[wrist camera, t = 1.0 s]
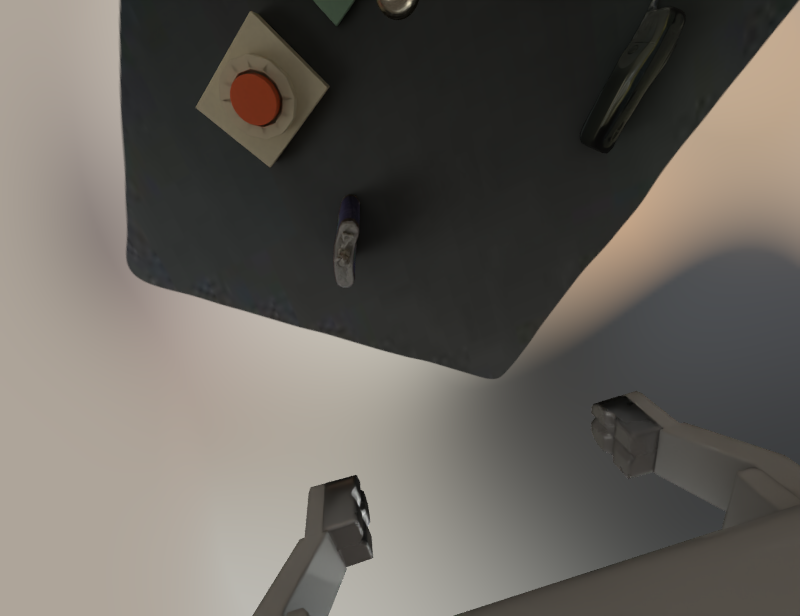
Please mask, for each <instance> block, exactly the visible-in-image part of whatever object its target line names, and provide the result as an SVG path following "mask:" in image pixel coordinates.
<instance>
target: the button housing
mask: <svg viewBox="0 0 800 616" xmlns="http://www.w3.org/2000/svg"><path fill="white" fill-rule="evenodd" d="M249 73H256V74H260V75H262V76H264V77H266V78H267V79H269V80H270V81H271V82H272V83H273V85H274V86H275V88H276V89H277V91H278V94H279V98H280V109H279V112H278V114H277V116H276V117H275V118H274V119H273V120H272V121H270V122H269V123H267V124H265V125H252V124H249V123H247V122H246V121H244V120H243V119H242V118H240V117H239V115H238V114H237V113H236V112H235V110H234V108H233V106H232V103H231V99H230V89H231V85H232V83H233V81H234V80H235V79H236V78H237V77H239V76H240V75H243V74H249ZM329 87H330V86H329V85H328V84H327V83H326V82H325V81H324V80H323V79H322V78H321V77H320V76H319V75H318V74H317V73H316V72H315V71H314V70H313V69H312V68H311V67H310V66H309V65H308V64H307V63H306V62H305V61H304V60H303V59H302V58H301V57H300V56H299V55H298V54H297V53H296V52H295V51H294V50H293V49H292V48H291V47H290V46H289V45H288V44H287V42H286V41H285V40H284V39H283V38H282V37H281V36H280V35H279V34H278V33H277V32H276V31H275V30H274V29H273V28H272V27H271V26H270V25H269V24H268V23H267V22H266V21H265V20H264V19H263V18H262V17H261V16H260V15H259V14H257V13H255V12H252V11H250V12H249V14H248V16H247V18H246V19H245V21H244V23H243V25H242V27H241V28H240V30H239V32H238V34H237V35H236V37H235V39H234V41H233V42H232V44H231V46H230V48H229V49H228V51H227V53H226V55H225V56H224V58H223V60H222V62H221V64H220V65H219V67H218V69H217V71H216V72H215V74H214V76H213V78H212V79H211V81H210V83H209V85H208V86H207V88H206V90H205V92H204V93H203V95H202V97H201V99H200V101H199V102H198V104H197V106H196V108H197V109H198V110H199V111H201V112H202V113H203V114H204V115H206V116H207V117H208V118H209V119H210V120H212V121H213V122H214V123H215V124H217V125H218V126H219V127H220V128H222V129H223V130H224V131H225V132H227V133H228V134H229V135H230V136H232V137H233V138H234V139H235V140H237V141H238V142H239V143H240V144H242V145H243V146H244V147H245V148H247V149H248V150H249V151H250V152H251V153H253V154H254V155H255V156H256V157H258V158H259V159H260V160H261V161H263V162H264V163H265V164H266V165H268V166H269V167H271V166H272V165H273V164H274V163H275V162H276V161H277V159H278V158H279V156H280V155H281V154H282V152H283V151H284V150H285V148H286V147H287V145H288V144H289V143H290V141H291V140H292V138H293V137H294V136H295V134H296V133H297V131H298V130H299V129H300V127H301V126H302V125H303V123H304V122H305V120H306V119H307V118H308V116H309V115H310V113H311V112H312V111H313V109H314V108H315V106H316V105H317V104H318V102H319V101H320V100H321V98H322V97H323V95H324V94H325V93H326V91H327V90H328V88H329Z"/></svg>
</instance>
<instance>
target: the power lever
mask: <svg viewBox="0 0 800 616" xmlns="http://www.w3.org/2000/svg"><path fill="white" fill-rule="evenodd" d="M376 2H377V5H378V7H379V9H380V10H381V11H382V13H383V14H384V15H385V16H387V17H388V18H390V19H393V20H402V19H405V18H407V17H408V16H410V15H411V14H412V13H413V11H414V10H415V9H416V7H417V5H418V2H419V0H376Z"/></svg>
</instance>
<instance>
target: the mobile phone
mask: <svg viewBox="0 0 800 616" xmlns="http://www.w3.org/2000/svg"><path fill="white" fill-rule="evenodd" d="M658 2H659V0H652V2H651V4H650V6H649V8H648V10H647V12H646V14H645V16H644V18H643V20H642V22H641V24H640V26H639V28H638V30H637V32H636V33H635V35H634V37H633V39H632V40H631V42H630V44H629V46H628V47H627V48H626V50H625V51H624V52H623V54H622V55H621V57H620V59H619V61H618V63H617V64H616V66H615V68H614V70H613V72H612V74H611V76H610V78H609V80H608V81H607V83H606V85H605V86H604V88H603V90H602V91H601V93H600V95H599V97H598V99H597V101H596V103H595V105H594V107H593V108H592V110H591V112H590V114H589V116H588V118H587V119H586V121H585V123H584V125H583V128H582V130H581V133H580V140H581V142H582V143H583V144H585V145H587V146H589V147H591V148H593V149H595V150H597V151H600V152H602V153H608V152H609V151H610V150H611V149H612V148H613V146H614V144H615V142H616V140H617V138H618V136H619V135H620V133H621V131H622V130H623V128H624V126H625V125H626V123H627V121H628V120H629V118H630V117H631V115H632V114H633V112H634V110H635V108H636V107H637V105H638V103H639V102H640V100H641V98H642V96H643V95H644V93H645V92H646V90H647V89H648V87H649V86H650V85H651V83H652V82H653V80H654V79H655V78H656V76H657V75H658V73H659V72H660V70H661V69H662V68H663V67H664V65H665V64H666V62H667V61H668V59H669V58H670V56H671V54H672V52H673V51H674V49H675V47H676V44H677V41H678V37H679V35H680V32H681V30H682V28H683V25H684V23H685V13H684V12H683V11H681V10H679V9H677V8H675V7H663V8H660V9H657V4H658Z"/></svg>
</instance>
